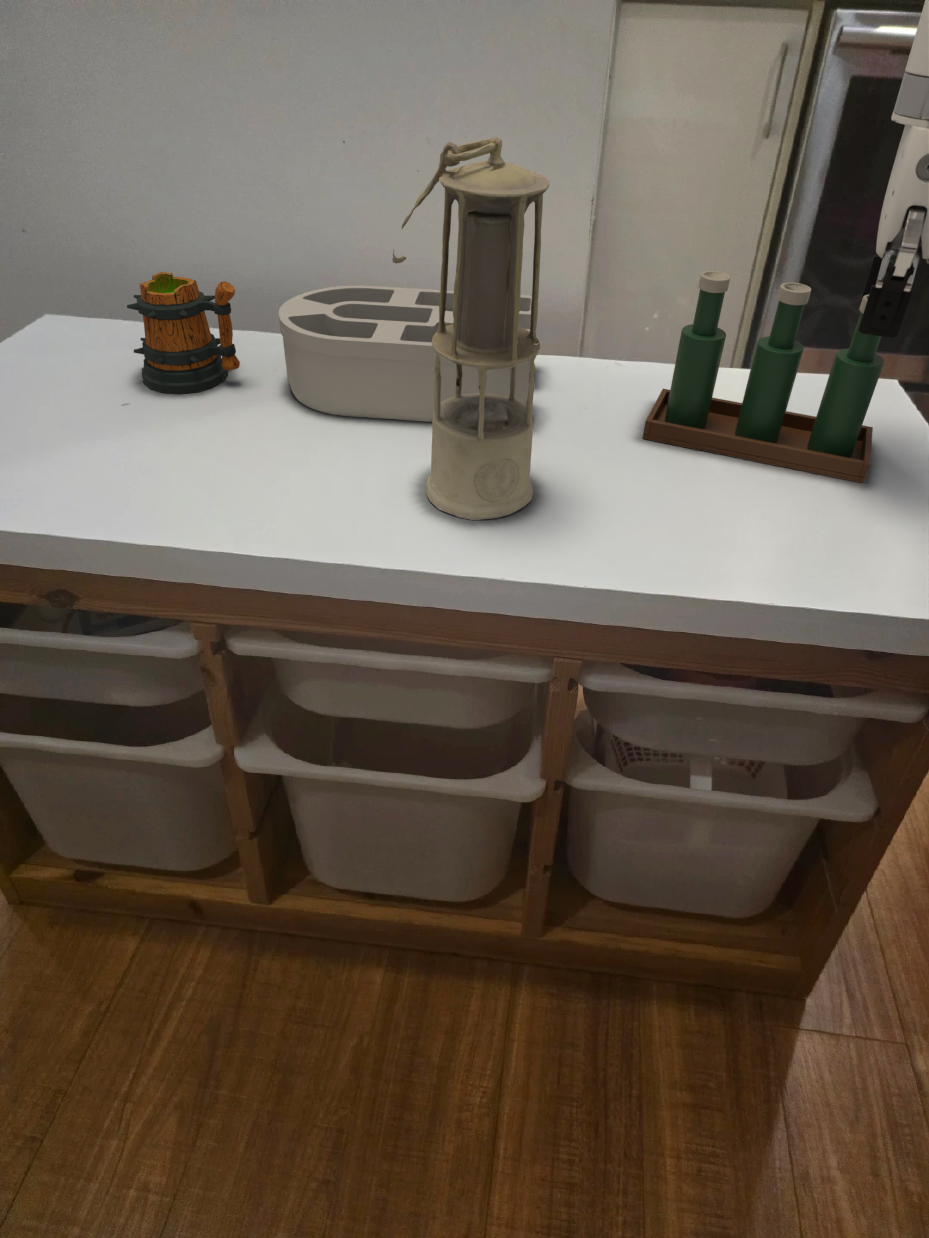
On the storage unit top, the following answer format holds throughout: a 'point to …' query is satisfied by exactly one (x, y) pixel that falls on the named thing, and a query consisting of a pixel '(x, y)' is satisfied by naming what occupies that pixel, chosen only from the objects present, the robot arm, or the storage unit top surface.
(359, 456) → the storage unit top surface
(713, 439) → the tray
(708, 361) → the bottle end
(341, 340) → the grey compartment organizer
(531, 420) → the lamp
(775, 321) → the bottle mid
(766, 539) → the storage unit top surface
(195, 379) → the mug
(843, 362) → the bottle
